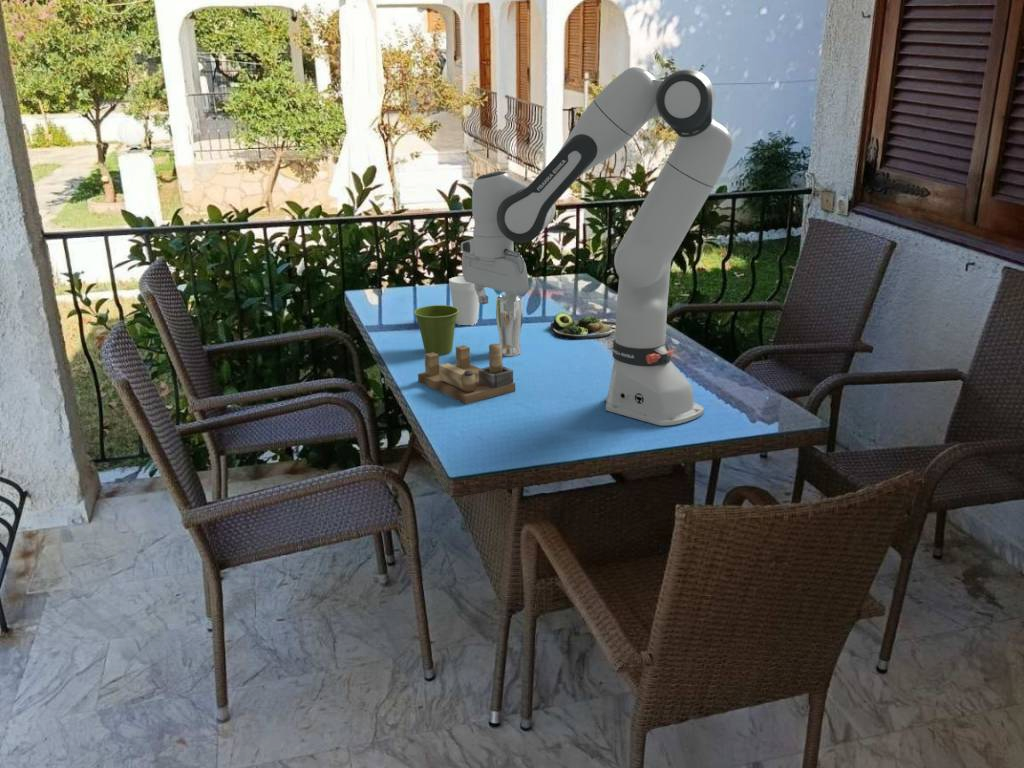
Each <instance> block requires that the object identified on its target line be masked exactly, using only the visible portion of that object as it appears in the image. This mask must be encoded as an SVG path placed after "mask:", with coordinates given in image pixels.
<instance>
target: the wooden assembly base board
mask: <svg viewBox="0 0 1024 768" xmlns="http://www.w3.org/2000/svg"><path fill="white" fill-rule="evenodd" d="M439 355H440V354H436V353H434V352H432V353H428V354H427V353H424V369H425V370H424V372H420V373H418V374H417V379H418V380H417V382H418V383H421V384H423V385H424V386H427V387H428V388H431V389H433V390H435V391H436V392H440V393H441V394H443V395H445V394H446V395H445V396H447V395H448V396H447V397H449V396H450V397H449V398H451V397H452V398H451V399H453V398H454V400H455V401H458V400H459V401H458V402H460V401H461V402H460V403H462V402H463V404H464V403H465V404H464V405H466V404H467V405H470V404H469V403H471V404H474V403H478V402H481V400H482V401H485V400H489V399H492V398H496V397H499V396H498V395H500V396H503V395H507V394H510V392H511V393H514V392H516V382H514V370H513V369H511V368H508V367H506V366H503V365H502V372H501V373H498V374H492V373H489V366H487V367H482V368H480V367H478V366H476V365H473V364H471V352H470V347H469V346H467V345H464V344H462V345H459V346H455V361H456V362H455V364H452V365H453V366H456V367H458V368H461V369H463V370H465V371H472V373H474V374H475V390H474V391H470V392H467V391H463V390H462V389H460V388H458V387H456V386H453V385H451V384H449V383H447V382H445V381H442V380H440V377H439V365H440V356H439ZM513 391H514V392H513ZM502 394H503V395H502ZM495 396H496V397H495ZM488 398H489V399H488ZM477 401H478V402H477ZM473 402H474V403H473Z"/></svg>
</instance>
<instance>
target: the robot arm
mask: <svg viewBox="0 0 1024 768" xmlns="http://www.w3.org/2000/svg"><path fill="white" fill-rule="evenodd" d="M715 98H716V97H715V89H714V85H713V83H712V82H711V80H710V79H709V77H708V76H707V75H705V74H704V73H703V72H701V71H700V70H697V69H692V68H683V69H680V70H677V71H675V72H673V73H671V74H669V75H668V76H666V77H662V78H660V79H659V78H657V77H655V76H654V75H653V74H652V73H651V72H649V71H648V70H646V69H644V68H641V67H636V66H635V67H634V66H633V67H629V68H627V69H625V70H624V71H622V73H620V74H619V75H617V76H616V77H615V78H614V79H613V80H611V82H609V83H608V84H607V85H606V86H605V87H604V88H603V89H602V90H601V91H600V92H599V93H598V94H597V95H596V96H595V98H594V99H593V100H592V101H591V102H590V103H589V104H588V106H587V107H586V108H585V109H584V111H583V113H582V114H581V116H580V117H579V119H578V120H577V122H576V123H575V125H574V127H573V128H572V130H571V131H570V134H569V135H568V137H567V138H566V140H565V141H564V144H563V145H562V147H561V148H560V149H559V151H558V152H557V154H556V155H555V156H554V158H553V159H551V161H549V163H548V164H547V165H546V166H545V167H544V168H543V170H542V171H541V172H540V173H538V175H537V176H536V177H535V178H534V179H533V181H532V182H531V183H530V184H527V183H526V182H523V181H520V180H518V178H515V177H513V176H512V174H510V173H509V172H508V171H503V170H502V171H501V170H500V171H494V172H493V171H492V172H489V173H485V174H481V176H478V177H477V178H476V179H475V180H474V183H473V184H472V185H473V186H472V197H471V209H472V211H471V212H472V217H473V221H474V228H473V235H472V236H473V238H470V239H468V240H465V241H462V242H461V243H460V251H461V252H463V253H462V254H461V268H462V269H461V271H462V276H463V277H464V279H465V281H466V282H469V283H473V284H474V285H475V290H476V293H477V295H478V301H479V305H487V304H488V303H489V295H487V293H486V289H485V288H489V289H491V290H495V291H499V292H503V293H505V295H506V297H507V300H506V303H503V307H504V308H503V309H504V311H507V312H511V311H513V310H514V302H515V300H516V297H517V295H519V296H520V295H524V294H526V293H527V292H528V290H529V279H528V278H529V277H528V276H529V275H528V271H527V265H526V262H525V259H524V257H523V256H522V255H521V253H520V252H519V251H516V250H515V251H514V244H515V243H517V244H524V243H525V244H526V243H528V242H531V241H534V240H535V239H536V238H537V237H538V236H539V234H540V233H541V232H543V230H545V229H546V228H547V227H548V226H549V225H550V224H551V222H552V221H553V220H554V218H555V216H556V212H557V205H556V202H557V201H558V200H559V199H560V198H561V197H562V195H564V194H565V193H566V191H567V190H569V188H570V187H571V186H572V185H573V184H575V182H576V181H577V180H578V179H579V178H580V177H582V176H583V175H584V174H586V173H587V172H588V171H590V170H591V169H593V168H594V167H596V166H598V165H600V164H601V163H603V162H605V161H606V160H609V158H611V157H612V156H614V155H615V154H617V152H618V151H620V150H621V149H623V148H624V146H626V144H628V143H629V141H631V139H633V137H634V136H635V135H636V134H637V133H638V132H639V130H640V129H642V127H644V125H646V124H647V123H648V122H649V121H650V120H652V119H654V118H658V117H659V118H662V120H664V122H665V123H666V124H667V125H668V126H669V127H670V128H671V129H672V130H673V132H675V133H676V134H677V141H676V143H675V145H674V148H673V149H672V151H671V153H670V155H669V157H668V158H667V160H666V162H665V163H664V165H663V167H662V169H661V171H660V172H659V174H658V176H657V178H656V179H655V181H654V183H653V185H652V186H651V189H650V190H649V191H648V193H647V195H646V196H645V199H644V200H643V202H642V204H641V206H640V207H639V210H638V211H637V213H636V215H635V216H634V218H633V220H632V221H631V223H630V226H629V227H628V228H627V230H626V232H625V234H624V235H623V238H622V239H621V240H620V242H619V244H618V245H617V248H616V250H615V254H614V258H613V259H614V260H613V261H614V269H615V271H616V274H617V276H618V288H617V296H616V297H617V298H616V303H615V305H616V306H615V322H616V325H614V326H615V329H614V330H615V331H614V332H615V333H614V339H613V341H612V348H611V350H612V357H613V365H612V369H611V370H612V371H611V375H610V382H609V388H608V392H607V396H606V398H605V402H606V404H605V410H606V411H608V412H610V413H614V414H617V415H621V416H625V417H628V418H631V419H632V418H633V419H636V420H639V421H643V422H647V423H649V424H653V425H656V426H661V427H665V426H673V425H674V426H675V425H679V424H683V423H687V422H690V421H692V420H695V419H697V418H699V417H700V416H702V415H704V413H705V409H704V407H703V406H702V405H700V404H699V403H696V402H694V391H693V386H692V384H691V382H690V381H689V380H688V379H687V378H686V377H685V376H684V374H682V373H681V371H680V370H679V369H678V367H677V366H676V365H675V364H674V363H673V361H672V356H673V355H675V353H674V352H675V349H671V350H670V349H669V345H668V342H667V339H666V336H667V317H668V316H667V315H668V303H669V289H670V280H671V277H670V276H671V267H672V266H671V265H672V260H673V258H674V257H675V255H676V254H677V252H678V250H679V248H680V246H681V245H682V242H684V239H685V238H686V236H687V233H689V230H690V228H691V226H692V225H693V223H694V221H695V220H696V218H697V217H698V215H699V212H701V210H702V208H703V207H704V204H705V203H706V201H707V199H708V198H709V196H710V194H711V193H712V192H713V189H714V188H715V186H716V184H717V182H718V180H719V179H720V176H721V175H722V173H723V170H724V168H725V166H726V164H727V162H728V159H729V157H730V153H731V151H732V149H733V148H732V147H733V143H734V141H733V137H732V135H731V133H730V132H729V130H728V129H727V128H726V127H725V126H724V125H722V124H721V123H719V122H717V121H716V120H715V119H714V116H713V108H714V103H715Z"/></svg>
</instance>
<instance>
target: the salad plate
mask: <svg viewBox="0 0 1024 768" xmlns="http://www.w3.org/2000/svg"><path fill="white" fill-rule="evenodd" d="M597 317H598V316H588V315H587V316H585V317H582V318H580V319H579V318H573V317H572V316H571V315H570V314H569V313H567V312H558V313H556V314H555V316H554V320H553V321H552V322H550V329H551V332H553V334H554V335H555V336H556V337H558V338H560V337H562V338H561V339H565V338H568V340H583V339H582V338H587V339H596V338H595V337H597V338H603V337H607V336H609V335H610V334H612V333H613V329H612V328H611V327H613V326H616V321H606V320H602V319H603V318H602V317H600V318H597ZM596 331H599V332H598V333H597V332H596ZM590 332H592V333H595V334H591V333H590ZM587 333H588V334H587ZM596 333H597V334H596Z"/></svg>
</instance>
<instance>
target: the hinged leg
mask: <svg viewBox="0 0 1024 768" xmlns="http://www.w3.org/2000/svg"><path fill="white" fill-rule="evenodd" d="M453 365H454V364H451V363H449V362H446V363H441V364H439V377H440V380H442V381H445V382H447V383H449V384H451V385H453V386H456V387H458V388H460V389H462V390H463V391H467V392H470V391H474V390H475V374H474V373H472V371H465V370H463V369H461V368H458V367H456V366H453Z"/></svg>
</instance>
